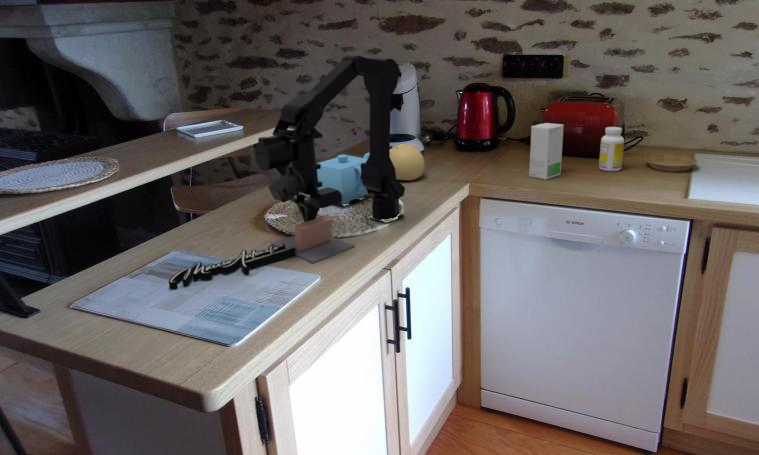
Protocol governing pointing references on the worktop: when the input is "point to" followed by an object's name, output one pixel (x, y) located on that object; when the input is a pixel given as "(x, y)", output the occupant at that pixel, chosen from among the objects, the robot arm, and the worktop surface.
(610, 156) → the supplement bottle
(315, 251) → the mat
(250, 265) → the nameplate
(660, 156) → the plant saucer
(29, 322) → the worktop surface
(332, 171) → the teapot
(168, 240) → the worktop surface
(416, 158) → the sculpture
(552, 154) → the skincare box
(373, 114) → the robot arm
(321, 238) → the card box
